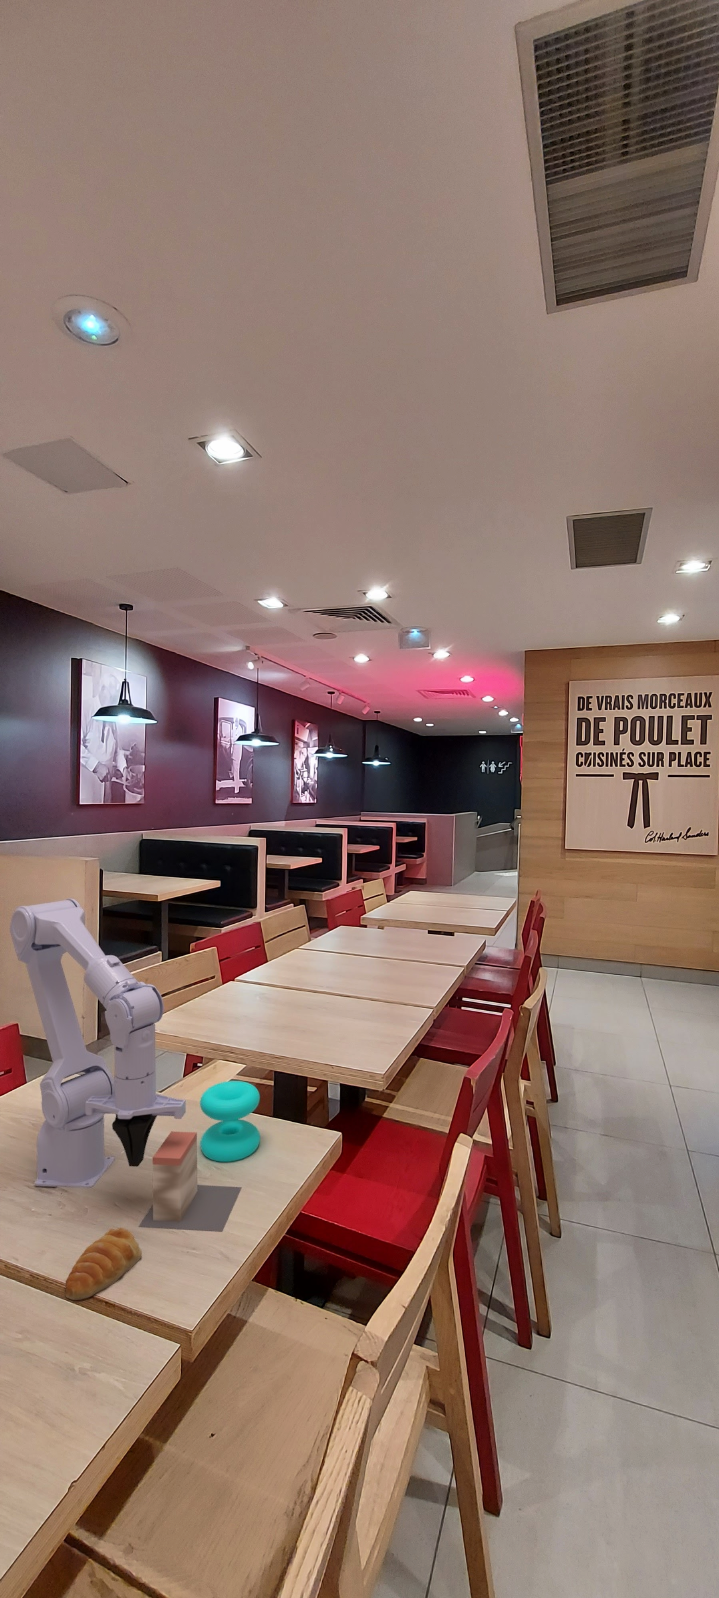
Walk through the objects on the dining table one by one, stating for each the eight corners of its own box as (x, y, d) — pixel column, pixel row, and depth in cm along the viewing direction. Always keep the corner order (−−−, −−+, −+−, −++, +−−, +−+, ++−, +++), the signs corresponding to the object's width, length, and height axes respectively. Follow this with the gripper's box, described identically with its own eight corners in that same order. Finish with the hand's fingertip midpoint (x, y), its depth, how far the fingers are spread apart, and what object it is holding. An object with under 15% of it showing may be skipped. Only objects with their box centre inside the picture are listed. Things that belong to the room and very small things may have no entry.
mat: (138, 1229, 91) (138, 1226, 91) (166, 1186, 101) (166, 1183, 101) (222, 1234, 89) (222, 1231, 89) (241, 1190, 99) (241, 1187, 99)
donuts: (264, 1078, 116) (253, 1105, 106) (264, 1134, 116) (253, 1166, 106) (208, 1077, 116) (192, 1105, 106) (209, 1133, 116) (193, 1165, 106)
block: (153, 1220, 92) (152, 1157, 92) (171, 1189, 99) (171, 1131, 99) (180, 1221, 92) (179, 1158, 91) (197, 1191, 99) (196, 1132, 98)
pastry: (93, 1313, 76) (92, 1281, 76) (49, 1298, 79) (49, 1267, 79) (146, 1259, 85) (145, 1230, 85) (105, 1247, 88) (104, 1219, 88)
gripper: (73, 1082, 92) (75, 1176, 92) (172, 1085, 91) (173, 1181, 91) (98, 1061, 99) (99, 1149, 99) (190, 1064, 98) (191, 1153, 98)
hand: (136, 1162), depth 96 cm, fingers closed
